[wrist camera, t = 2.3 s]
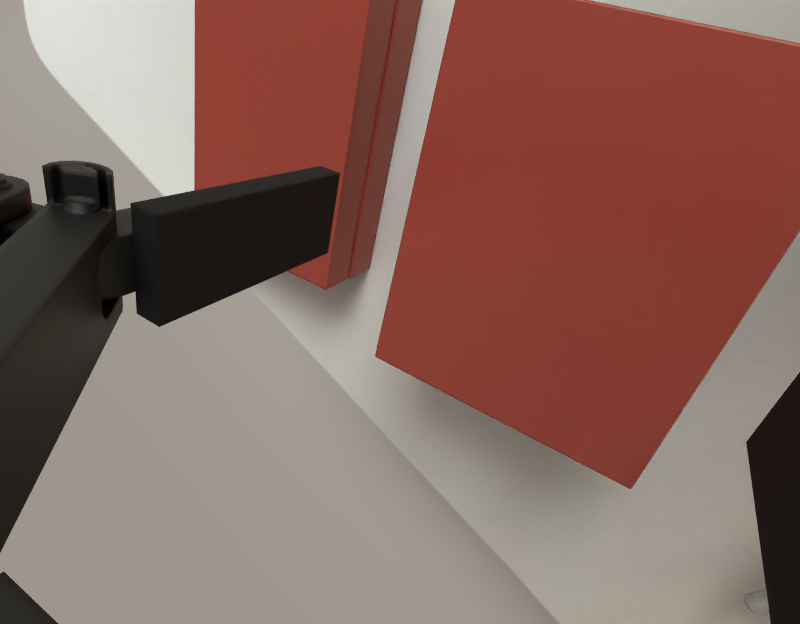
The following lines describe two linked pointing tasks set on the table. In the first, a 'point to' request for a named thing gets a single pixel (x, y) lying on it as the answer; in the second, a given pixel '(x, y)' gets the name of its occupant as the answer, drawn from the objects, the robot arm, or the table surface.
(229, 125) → the red box
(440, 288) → the thin red book
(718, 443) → the table surface
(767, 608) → the power adapter
